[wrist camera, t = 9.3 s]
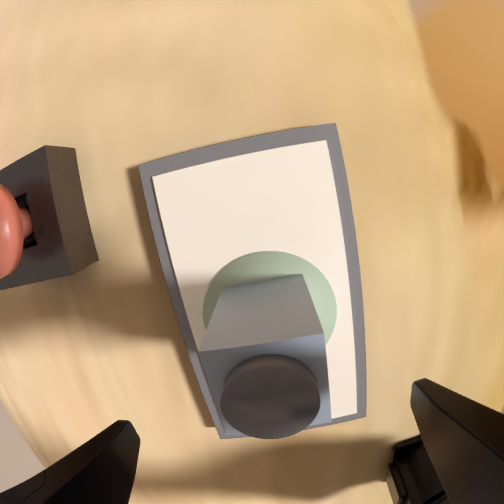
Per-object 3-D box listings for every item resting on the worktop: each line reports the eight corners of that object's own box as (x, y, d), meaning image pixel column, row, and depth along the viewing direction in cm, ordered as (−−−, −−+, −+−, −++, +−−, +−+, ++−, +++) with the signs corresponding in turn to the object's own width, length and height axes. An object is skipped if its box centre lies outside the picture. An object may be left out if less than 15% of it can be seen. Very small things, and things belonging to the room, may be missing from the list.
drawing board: (330, 126, 15) (337, 121, 13) (362, 405, 19) (367, 419, 17) (146, 165, 16) (136, 165, 14) (222, 427, 20) (219, 441, 18)
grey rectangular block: (302, 274, 15) (328, 345, 8) (312, 343, 16) (335, 436, 9) (222, 287, 16) (193, 365, 9) (239, 354, 16) (224, 449, 10)
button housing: (75, 148, 16) (45, 145, 13) (98, 259, 17) (72, 274, 14) (5, 182, 16) (-24, 185, 13) (26, 276, 18) (0, 290, 15)
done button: (44, 169, 14) (-3, 170, 10) (63, 255, 15) (19, 275, 11) (-5, 194, 14) (-48, 201, 11) (12, 269, 15) (-29, 287, 12)
